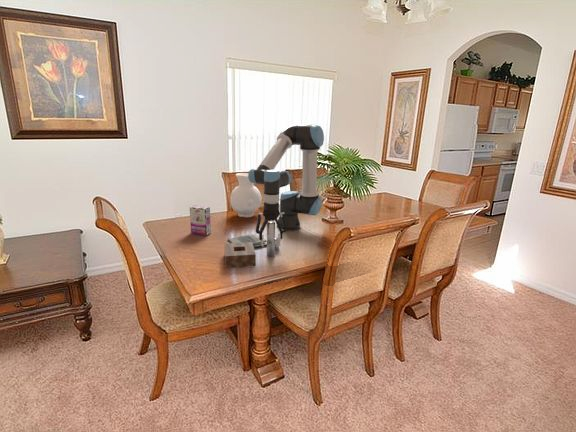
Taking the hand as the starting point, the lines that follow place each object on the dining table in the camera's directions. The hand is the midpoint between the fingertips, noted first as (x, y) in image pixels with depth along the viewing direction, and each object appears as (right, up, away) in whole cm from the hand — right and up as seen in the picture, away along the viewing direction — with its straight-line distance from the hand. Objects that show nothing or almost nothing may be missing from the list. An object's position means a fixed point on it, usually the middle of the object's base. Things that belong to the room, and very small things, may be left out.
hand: (270, 245), depth 169 cm
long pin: (0, -6, +2) cm, 6 cm away
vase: (-21, +15, +68) cm, 72 cm away
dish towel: (-14, -1, +18) cm, 22 cm away
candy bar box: (-43, +4, +31) cm, 53 cm away
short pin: (+2, -3, +11) cm, 11 cm away
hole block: (-15, -7, -4) cm, 17 cm away
